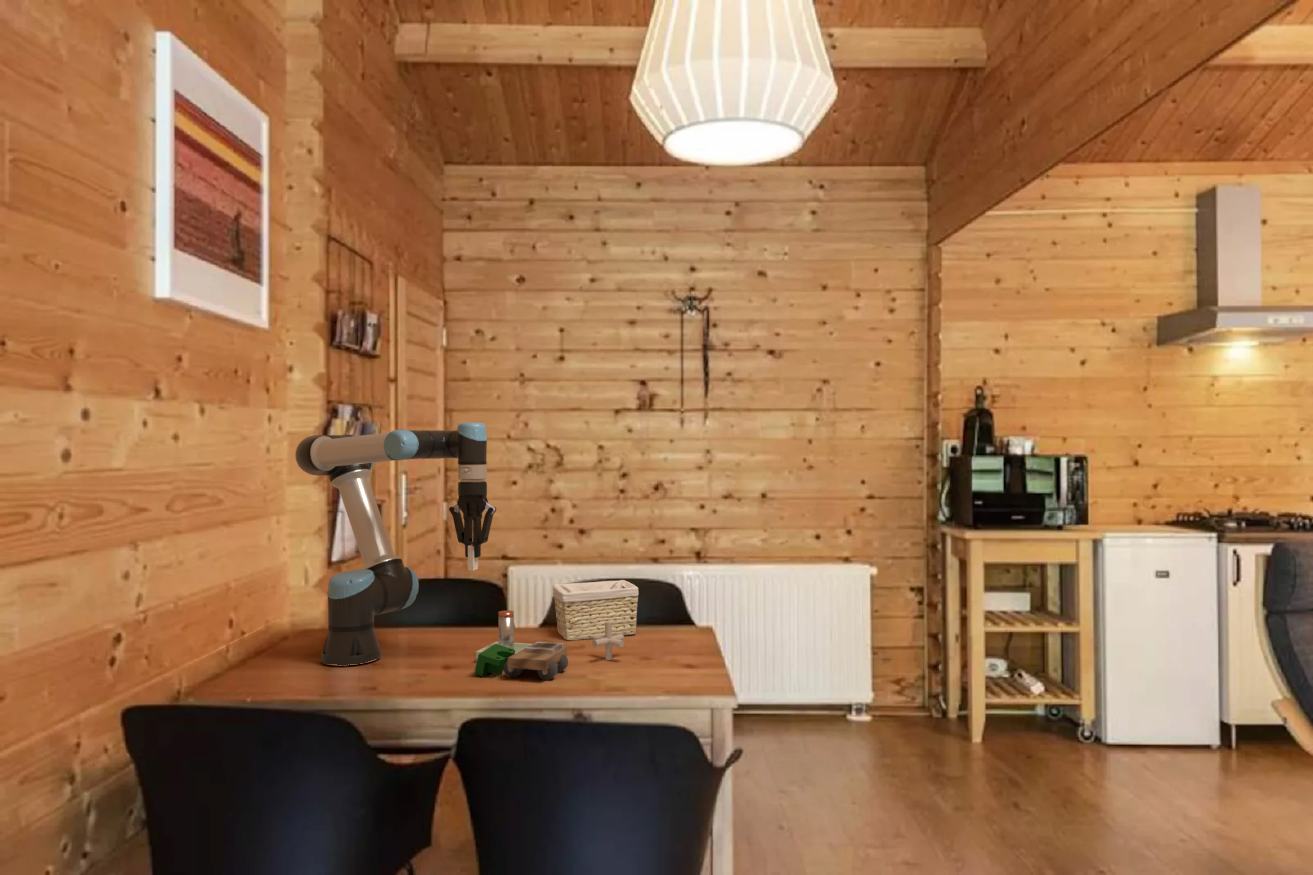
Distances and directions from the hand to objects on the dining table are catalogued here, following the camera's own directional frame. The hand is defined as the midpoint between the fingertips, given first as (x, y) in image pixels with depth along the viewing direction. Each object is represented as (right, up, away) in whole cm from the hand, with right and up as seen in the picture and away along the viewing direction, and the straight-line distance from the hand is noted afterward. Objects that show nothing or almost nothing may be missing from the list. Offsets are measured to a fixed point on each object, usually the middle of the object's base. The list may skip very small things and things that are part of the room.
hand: (473, 569), depth 228 cm
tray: (+8, -24, +3) cm, 26 cm away
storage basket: (+30, -25, +33) cm, 51 cm away
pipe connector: (+36, -24, +1) cm, 43 cm away
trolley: (+19, -24, -13) cm, 33 cm away
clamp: (+8, -25, -10) cm, 28 cm away
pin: (+8, -24, +3) cm, 25 cm away
